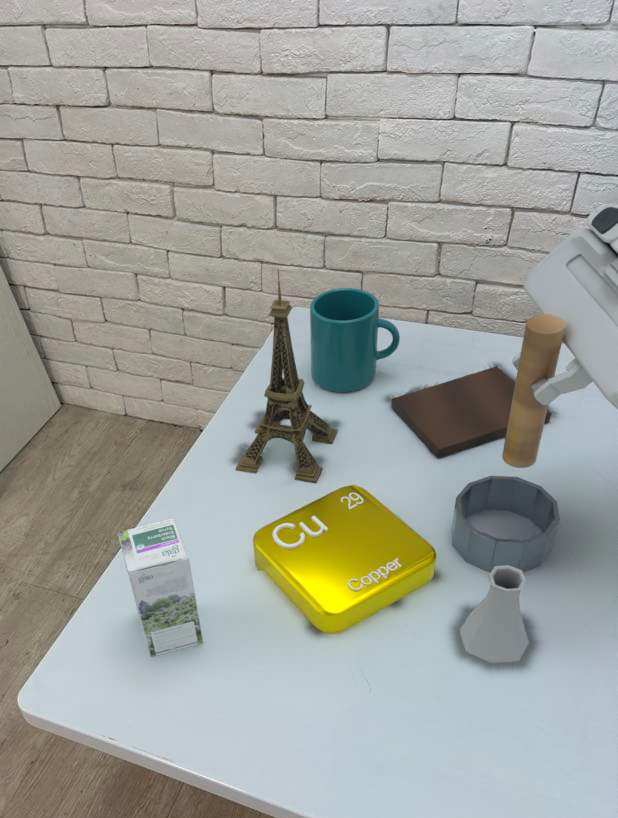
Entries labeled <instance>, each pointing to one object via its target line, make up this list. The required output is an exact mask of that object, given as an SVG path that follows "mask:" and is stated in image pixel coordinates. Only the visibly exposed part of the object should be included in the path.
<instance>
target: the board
mask: <svg viewBox="0 0 618 818" xmlns="http://www.w3.org/2000/svg"><path fill="white" fill-rule="evenodd" d="M515 382H516V380H514V379H513V378H512V377H510V376H509V375H508V374H507V373H505V372H504V370H502V369H501V368H500V367H498V366H497V365H496V366H494V367H493V366H492V367H489V368H487V369H484V370H480V371H477V372H473V373H470V374H468V375H464V376H461V377H458V378H455V379H451V380H448V381H445V382H441V383H438V384H435V385H432V386H428V387H425V388H421V389H419V390H416V391H412V392H409V393H405V394H403V395H399V396H396V397H393V398H391V404H390V405H391V406H390V408H391V409H392V410H393V411H394V412H395V413H396V415H397V416H398V417H399V418H400V419H401V420H402V421H403V422H404V424H406V426H407V427H408V428H409V429H410V430H411V431H412V432H413V433H414V434H415V436H417V437H418V439H419V440H421V442H422V443H423V444H424V445H425V446H426V447H427V448H428V449H429V450H430V452H431V453H432V454H433V455H434V456H435V457H436V459H441V458H444V457H447V456H450V455H453V454H456V453H458V452H460V453H461V452H462V451H466V450H469V449H471V448H475V447H477V446H481V445H484V444H487V443H489V442H493V441H496V440H499V439H502V438H506V432H507V426H508V421H509V415H510V410H511V404H512V399H513V393H514V388H515ZM551 415H552V412H551V411H550V410H549V409H547V413H546V417H545V422H544V425H546V424H548V423H550V420H551V417H552V416H551Z"/></svg>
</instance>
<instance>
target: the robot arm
mask: <svg viewBox="0 0 618 818" xmlns="http://www.w3.org/2000/svg"><path fill="white" fill-rule="evenodd" d="M585 223H586V225H587V226H588V227H589V228H581V229H577V230H576V231H574V232H573V233H571V234H569V235H568V236H567V237H565V238H564V239H563V240H562V241H561V242H560V243H559V244H558V245H557V246H556V247H554V248H553V249H552V250H551V251H550V252H549V253H548V254H547V255H546V256H545V257H544V258H542V259H541V260H540V261H539V262H538V263H537V264H536V266H534V267H533V269H532V270H531V271H530V272H529V273H528V275H527V277H526V279H525V282H524V284H523V290H524V292H525V293H526V294H527V296H528V297H529V298H530V300H531V301H532V302H533V303H534V305H535V306H536V307H537V309H538V310H539V312H540V313H541V314H548V315H554V316H557V317H559V318H561V319H562V320H564V322H565V324H566V326H565V331H564V335H563V340H562V343H564V345H565V346H566V348H567V349H568V350H569V351H570V353H571V354H572V356H573V357H574V358H573V359H572V360H571V361H570V362H569V363H568V364H566V366H565V369H566V371H565V372H562V373H559V374H556V375H555V376H554V377H552V378H550V379H548V378H547V377H546V376H545V375H544V376H543V377H541V378H540V379H538V381H537V383H534V384H533V385H531V387H530V391H531V392H532V394H533V396H534V397H535V399H536V400H537V401H538V402H540V403H541V404H542V405H548V406H549V405H550V404H551V403H552V402H554V401H555V400H557V398H559V397H560V396H561V395H565V394H569V393H573V392H576V391H580V390H583V389H586V387H588V386H589V385H591V384H592V383H594V385H595V386H596V388H597V389H598V391H600V393H601V394H602V396H603V397H604V398H605V399H606V400H607V402H609V403H610V404H611V405H612V406H613V407H614V408H615V409H617V410H618V205H615V204H611V203H603V204H601V205H598V206H597V207H596V208H595V209H594V210H592V212H591V213H590V214H588V216H587V218H586V220H585ZM520 354H521V351H520V352H519V353H517V354H516V355H515V356H514V357H513V358H512V360H511V363H512V364H513V367H514V368H515V369H516V370H517V371H518V365H519V360H520Z"/></svg>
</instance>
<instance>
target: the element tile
mask: <svg viewBox="0 0 618 818" xmlns="http://www.w3.org/2000/svg"><path fill="white" fill-rule="evenodd" d="M252 544H253V545H252V546H253V552H254V553H253V556H254V563H255V567H256V569H257V571H258V572H260V571H263V572H264V573H265V574H266V575H267V576H268V577H269V578H270V579H271V580H272V581H273V583H274V584H275V586H277V588H279V589H280V590H281V591H282V593H283V594H284V595H285V596H286V597H287V598H288V599H289V600H290V601H291V602H292V603H293V605H294V606H295V607H296V608H297V609H298V610H299V611H300V612H301V613H302V614H303V615H304V616H305V618H306V619H307V620H308V621H309V623H311V624H312V626H314V627H315V628H317V630H318V631H321V632H323V633H326V634H332V635H333V634H338V633H341V632H344V631H347V630H348V629H350V628H351V627H353V626H355V625H356V624H357V625H358V623H360V622H362V621H364V620H366V619H368V618H370V617H371V616H373V615H375V614H376V613H378V612H379V611H381V610H384V609H386V608H387V607H388V606H390V605H393V603H395V602H397V601H399V600H400V599H403V598H404V597H407V596H408V595H409V594H411V593H413V592H415V591H416V590H418V589H420V588H422V587H423V586H425V585H427V584H428V583H430V582H431V581H432V580H433V578H434V576H435V569H436V563H437V562H436V561H437V552H436V550H435V548H434V546H432V544H431V543H429V542H428V541H427V540H426V539H425V538H424V537H422V536H421V535H420V534H419V533H418V532H416V531H415V530H414V529H413V528H411V527H410V526H409V524H407V523H406V522H404V520H402V519H401V518H400V517H399V516H398V515H396V514H395V513H394V512H393V511H392V510H390V508H388V507H387V506H386V505H385V504H384V503H382V502H381V501H380V500H379V499H378V498H376V497H375V496H374V495H373V494H372V493H370V492H369V491H368V490H367V489H365V488H363V487H361V486H359V485H356V484H355V485H354V484H350V485H347V486H346V485H345V486H342V487H339V488H338V489H336V490H333V491H331V492H329V493H327V494H325V495H324V496H322V497H320V498H317V499H316V500H313V501H311V502H310V503H307V504H306V505H303V506H302V507H300V508H298V509H296V510H294V511H292V512H289V513H288V514H285V515H284V516H282V517H280V518H278V519H275V520H273V521H272V522H270V523H268V524H266V525H264V526H262V527H260V528H259V529H258V530H257V531H256V532H255V533H254V534H253V537H252Z"/></svg>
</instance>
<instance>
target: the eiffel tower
mask: <svg viewBox="0 0 618 818" xmlns="http://www.w3.org/2000/svg"><path fill="white" fill-rule="evenodd" d="M277 280H278V281H277V299H273V302H272V304H271V305H270V307H269V309H270V312H269V314H268V315H267V316H268V317H272V318H274V319H273V339H272V353H271V354H272V355H271V365H270V366H271V367H270V379H269V384H268V386H267V388H266V389H265V391H264V394H263V396H264V397H265V398H267V401H266V407H265V413H264V415H263V417H262V418H260V420H259V423H258V424H257V426H256V428H255V430H254V434H257V435H256V436H255V438H254V440H253V441H252V442H251V444H250V445H249V446H248V448H247V449H246V451H245V453H244V454H242V455H241V457H240V459H239V461H238V462H237V464H236V466H235V471H239V472H245V473H250V474H251V473H252V474H257V473H258V472H259V469H260V467H261V465H262V463H263V460H264V457H263V455H262V453H263V451H264V449H265V447H267V446H266V445H267V444H268V442H269V441H271V440H273V439H281V440H284V441H287V442H289V443H291V444H292V445H293V446H294V452H295V459H296V466H297V469H296V471H295V475H294V480H295V481H301V482H306V483H307V482H308V483H313V484H317V482H318V480H319V478H320V475H321V472H322V470H323V466H319V463H317V460H316V458H315V457H314V456H313V454H312V453H311V451H310V450H309V449H308V446H307V445H306V443H305V442H304V439H305V436H306V432H307V430H308V431H309V432H310V433H311V434H312V435H311V442H314V443H315V442H316V443H323V444H330V445H333V443H334V442H335V439H336V436H337V433H338V429H337V428H332V427H331V425H329V424H328V423H327V422H326V421H325V420H324V419H322V418H321V417H320V416H318V415H317V414H316V413H315V412H313V411H312V410H311V409H312V404H308V402H307V401H306V399H305V395H304V393H303V390H304V387H305V382H304V378H299V374H298V369H297V365H296V358H295V354H294V348H293V343H292V335H291V330H290V325H289V318H288V316H289V315H290V313H291V311H292V309H293V308H294V307H293V306H292V305H291V304H290V303H291V301H290V300H285V299H284V300H283V299H282V290H281V281H280V269H279V268H278V269H277ZM284 420H287V421H288V420H289V422H290V425H288V424H282V421H284Z"/></svg>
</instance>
